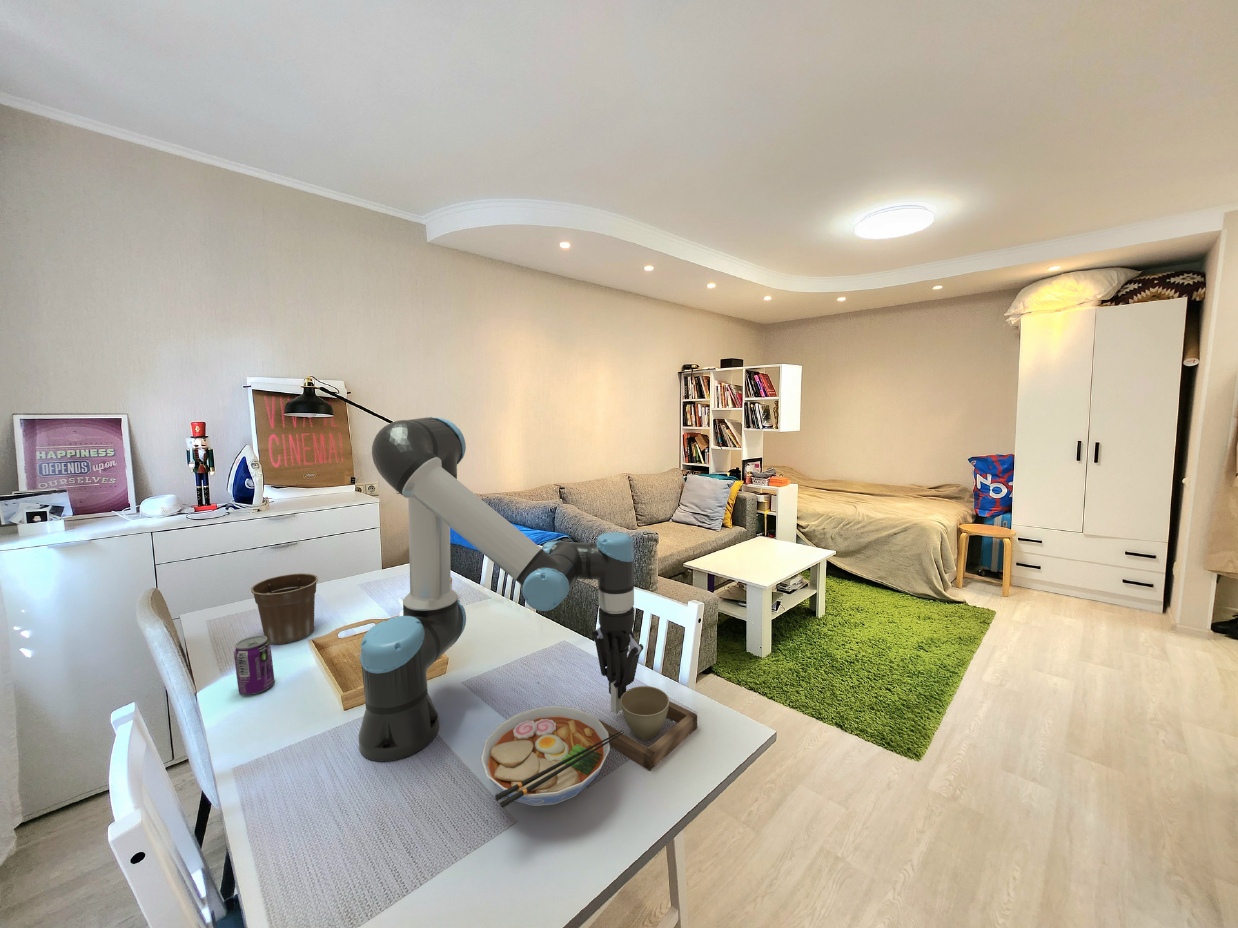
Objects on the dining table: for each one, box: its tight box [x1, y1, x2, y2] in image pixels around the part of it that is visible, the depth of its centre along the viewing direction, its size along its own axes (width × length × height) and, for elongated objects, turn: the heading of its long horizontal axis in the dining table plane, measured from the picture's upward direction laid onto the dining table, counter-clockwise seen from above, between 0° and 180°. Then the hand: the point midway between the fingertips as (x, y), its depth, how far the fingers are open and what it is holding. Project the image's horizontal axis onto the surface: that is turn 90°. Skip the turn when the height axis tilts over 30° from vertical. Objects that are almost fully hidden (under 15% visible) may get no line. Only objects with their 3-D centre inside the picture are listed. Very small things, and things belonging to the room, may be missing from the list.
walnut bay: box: [599, 700, 698, 771], centre depth 104 cm, size 16×14×3 cm
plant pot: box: [250, 572, 319, 645], centre depth 147 cm, size 16×16×16 cm
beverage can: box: [233, 635, 276, 695], centre depth 120 cm, size 7×7×12 cm
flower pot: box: [620, 685, 670, 741], centre depth 104 cm, size 10×10×7 cm
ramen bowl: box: [480, 705, 625, 809], centre depth 90 cm, size 25×23×8 cm
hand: (617, 709), depth 109 cm, fingers closed
